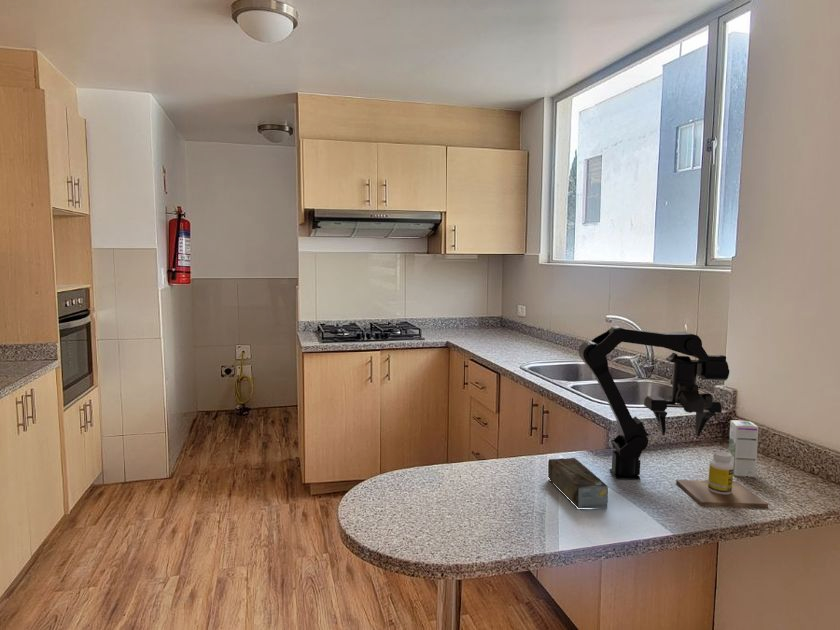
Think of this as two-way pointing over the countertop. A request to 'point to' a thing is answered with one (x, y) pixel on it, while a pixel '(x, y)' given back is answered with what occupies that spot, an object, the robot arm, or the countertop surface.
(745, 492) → the walnut board
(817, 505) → the countertop surface
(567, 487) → the beverage carton
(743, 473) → the syrup box
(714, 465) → the supplement bottle
